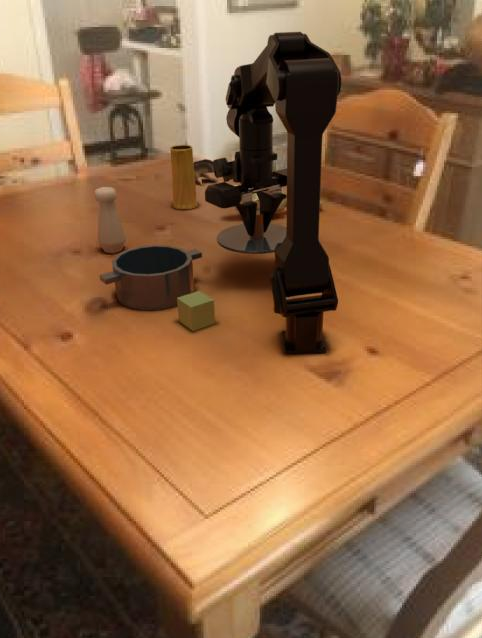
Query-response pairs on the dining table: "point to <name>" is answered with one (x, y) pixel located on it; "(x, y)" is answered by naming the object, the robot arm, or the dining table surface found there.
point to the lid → (252, 237)
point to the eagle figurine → (203, 169)
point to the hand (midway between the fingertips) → (256, 233)
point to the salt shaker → (109, 221)
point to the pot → (152, 276)
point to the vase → (183, 177)
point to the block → (196, 310)
